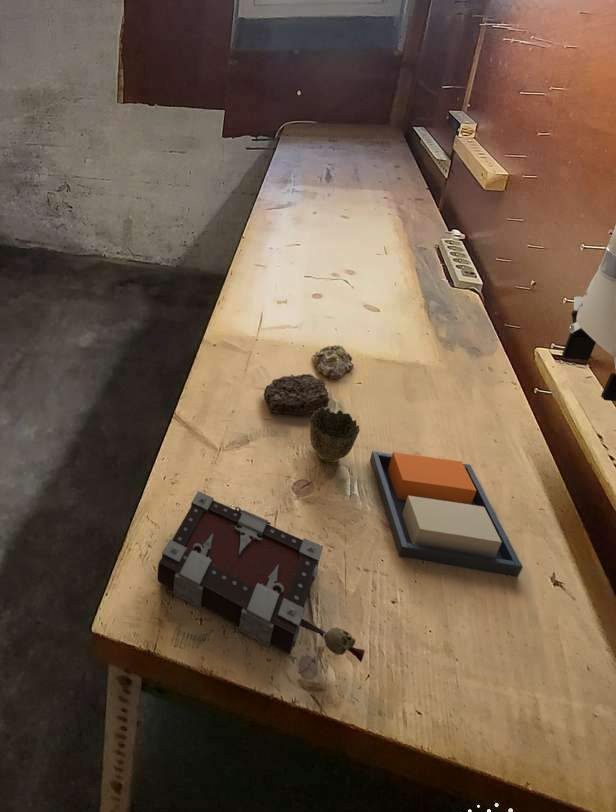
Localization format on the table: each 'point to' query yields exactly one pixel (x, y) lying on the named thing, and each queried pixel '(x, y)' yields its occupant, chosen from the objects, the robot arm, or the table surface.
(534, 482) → the table surface
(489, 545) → the beige block
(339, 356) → the mineral rock
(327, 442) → the cup
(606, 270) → the robot arm
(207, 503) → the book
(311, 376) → the dark brown rough stone
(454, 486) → the orange rectangular block
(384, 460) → the tray
